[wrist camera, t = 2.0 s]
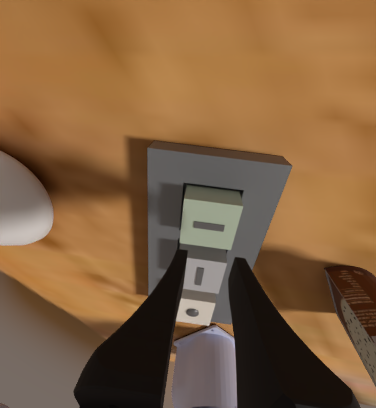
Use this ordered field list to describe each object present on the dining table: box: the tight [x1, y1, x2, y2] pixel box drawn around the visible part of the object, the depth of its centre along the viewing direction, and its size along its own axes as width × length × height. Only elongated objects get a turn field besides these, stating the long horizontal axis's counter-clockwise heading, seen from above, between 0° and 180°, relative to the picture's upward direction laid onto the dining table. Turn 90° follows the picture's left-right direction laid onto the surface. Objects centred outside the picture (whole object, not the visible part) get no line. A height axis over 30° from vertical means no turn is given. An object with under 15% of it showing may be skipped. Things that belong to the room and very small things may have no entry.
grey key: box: [180, 243, 227, 294], centre depth 20 cm, size 4×4×2 cm
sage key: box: [180, 185, 243, 250], centre depth 17 cm, size 4×4×2 cm
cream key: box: [176, 289, 216, 326], centre depth 23 cm, size 4×4×2 cm
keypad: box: [147, 141, 292, 324], centre depth 22 cm, size 22×11×2 cm, turn 174°
